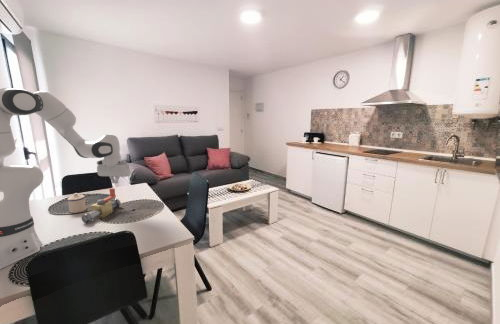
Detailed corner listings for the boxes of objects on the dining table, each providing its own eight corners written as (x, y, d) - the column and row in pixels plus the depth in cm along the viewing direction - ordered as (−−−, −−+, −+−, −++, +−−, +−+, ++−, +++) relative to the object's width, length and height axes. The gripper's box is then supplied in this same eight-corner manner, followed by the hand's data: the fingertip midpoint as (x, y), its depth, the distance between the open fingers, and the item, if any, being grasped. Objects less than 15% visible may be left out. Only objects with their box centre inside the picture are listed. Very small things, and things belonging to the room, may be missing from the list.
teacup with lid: (90, 208, 143) (87, 192, 140) (75, 214, 134) (72, 196, 132) (78, 206, 147) (75, 189, 145) (63, 211, 139) (59, 194, 136)
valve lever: (101, 204, 131) (100, 194, 129) (95, 204, 131) (94, 194, 130) (116, 196, 143) (115, 188, 142) (111, 196, 143) (110, 187, 142)
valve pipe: (92, 223, 122) (90, 211, 121) (81, 223, 123) (79, 210, 122) (122, 207, 146) (120, 196, 144) (112, 206, 147) (111, 195, 145)
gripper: (131, 160, 135) (133, 182, 137) (102, 160, 138) (104, 181, 140) (124, 162, 129) (126, 184, 131) (94, 161, 132) (96, 184, 134)
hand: (115, 183), depth 136 cm, fingers closed
